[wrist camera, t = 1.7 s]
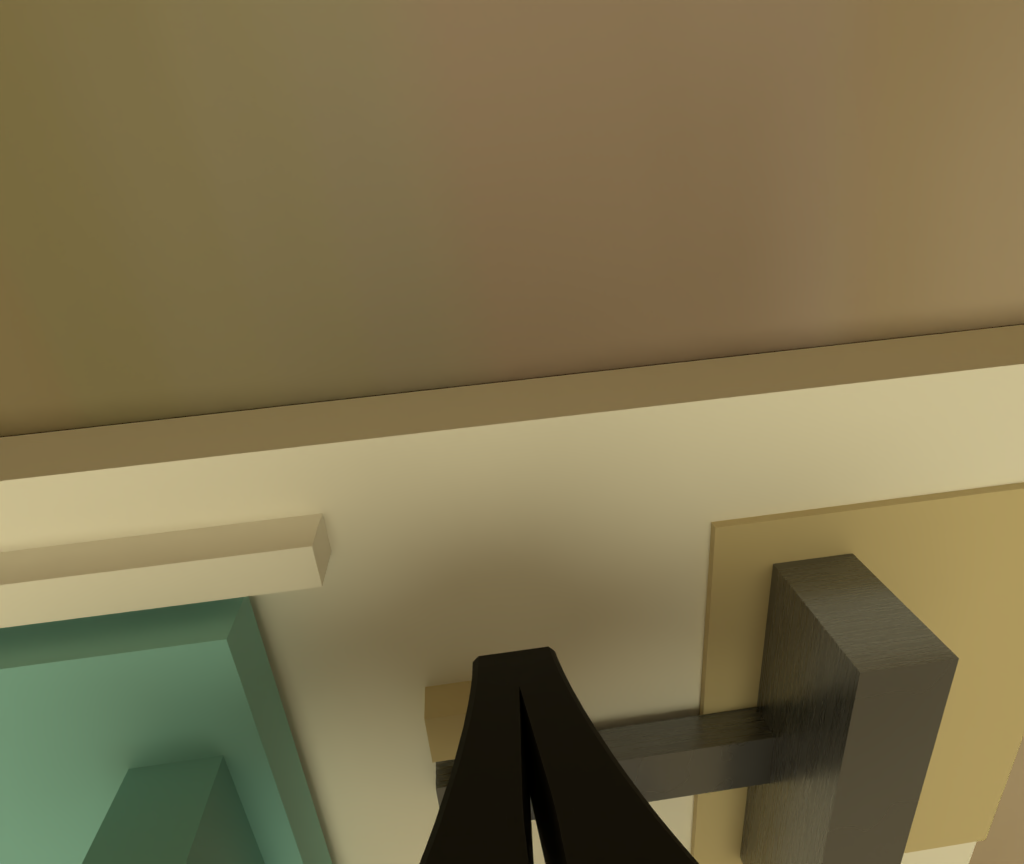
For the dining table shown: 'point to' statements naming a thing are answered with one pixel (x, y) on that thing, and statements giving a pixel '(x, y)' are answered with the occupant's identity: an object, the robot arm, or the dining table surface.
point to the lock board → (560, 554)
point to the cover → (149, 743)
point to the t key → (811, 724)
